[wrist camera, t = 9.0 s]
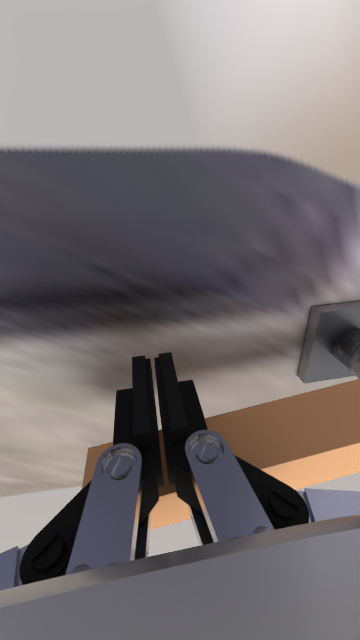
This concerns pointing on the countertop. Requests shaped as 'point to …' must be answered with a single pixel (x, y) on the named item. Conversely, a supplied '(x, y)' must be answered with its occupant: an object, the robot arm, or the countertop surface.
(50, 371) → the countertop surface
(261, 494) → the robot arm
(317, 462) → the swing arm
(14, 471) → the countertop surface
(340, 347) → the pivot post
